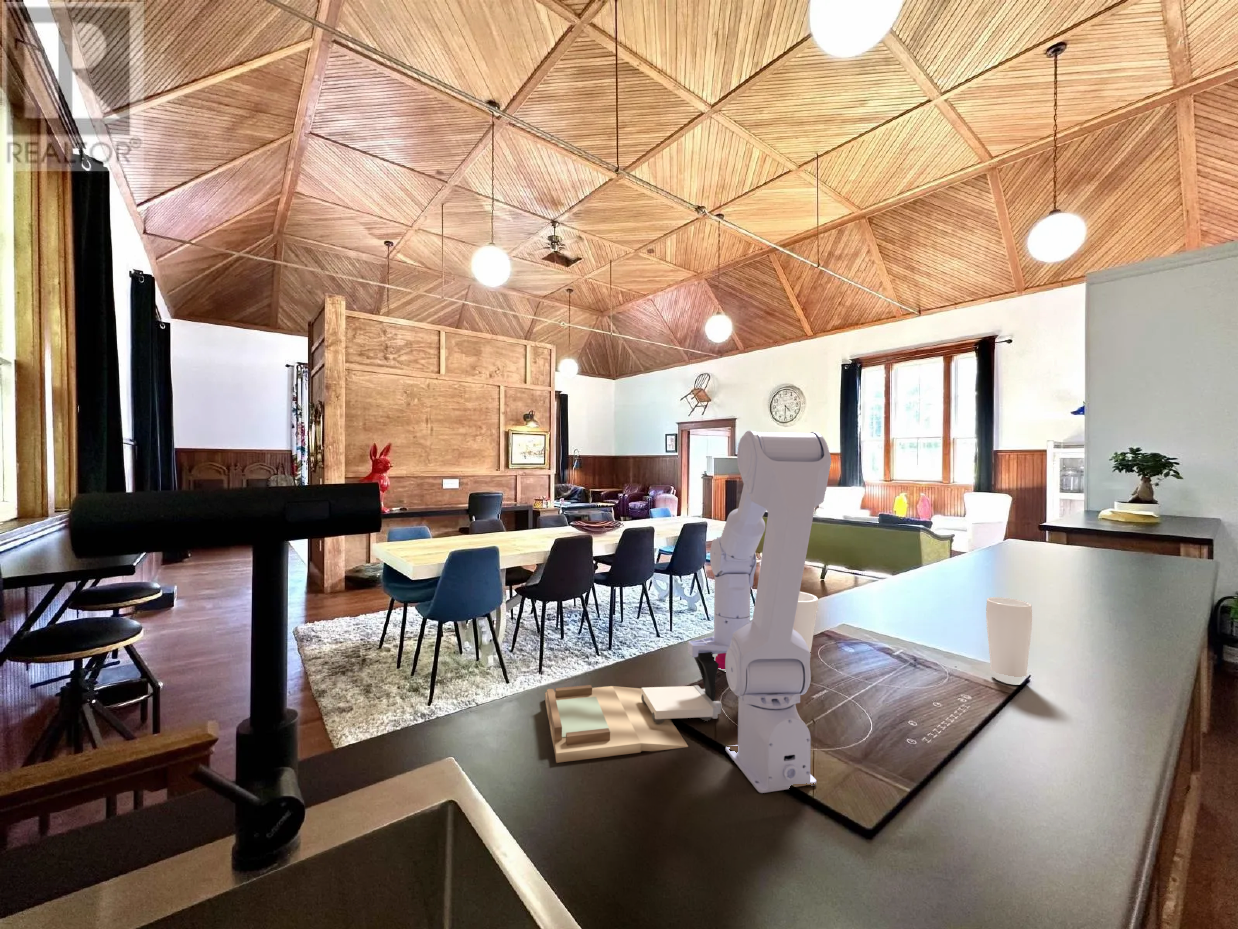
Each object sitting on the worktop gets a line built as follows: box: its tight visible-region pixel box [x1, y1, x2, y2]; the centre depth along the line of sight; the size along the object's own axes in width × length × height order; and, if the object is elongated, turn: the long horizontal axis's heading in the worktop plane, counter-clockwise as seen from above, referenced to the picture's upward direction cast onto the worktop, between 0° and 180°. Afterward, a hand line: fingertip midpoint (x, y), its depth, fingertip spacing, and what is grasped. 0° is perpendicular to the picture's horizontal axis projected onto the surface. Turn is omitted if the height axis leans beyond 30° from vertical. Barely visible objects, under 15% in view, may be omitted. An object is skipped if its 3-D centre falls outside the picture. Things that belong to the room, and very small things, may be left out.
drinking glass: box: [985, 596, 1033, 677], centre depth 92 cm, size 7×7×15 cm
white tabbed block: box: [640, 684, 722, 724], centre depth 78 cm, size 8×11×2 cm
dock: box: [544, 684, 689, 764], centre depth 75 cm, size 18×18×4 cm
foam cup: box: [793, 591, 819, 652], centre depth 101 cm, size 10×9×13 cm
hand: (730, 696), depth 80 cm, fingers open, 7 cm apart
